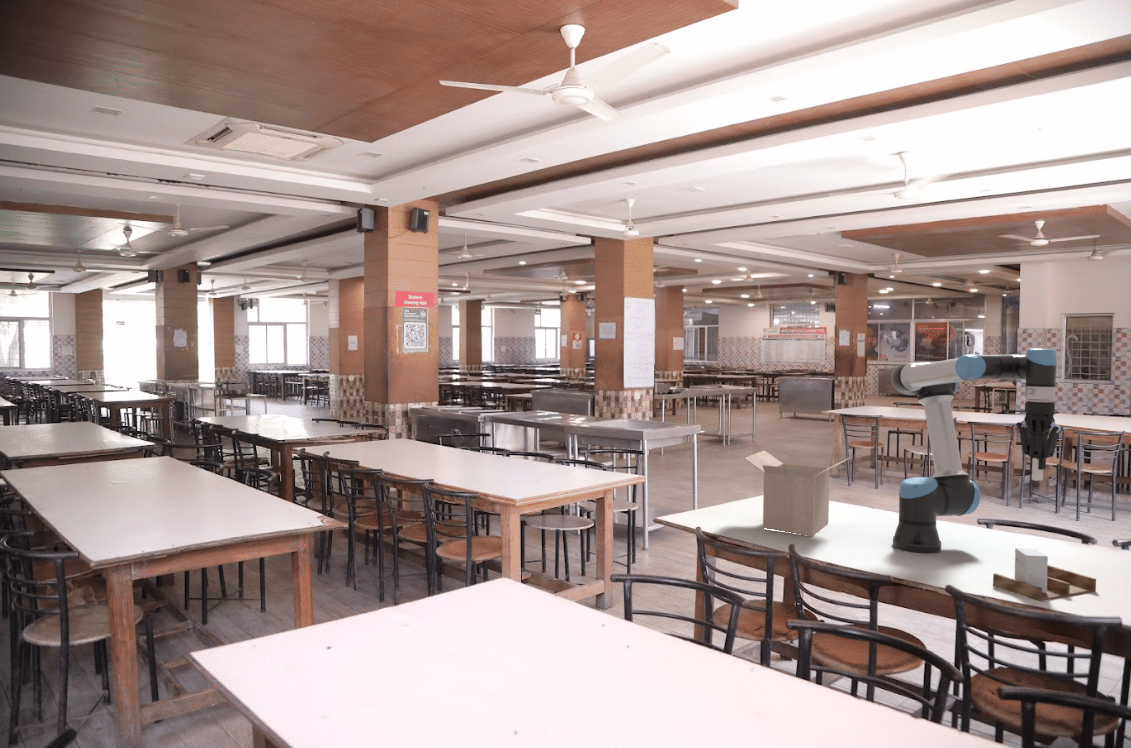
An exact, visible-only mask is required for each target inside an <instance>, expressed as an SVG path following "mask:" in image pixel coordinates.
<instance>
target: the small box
mask: <svg viewBox="0 0 1131 748" xmlns="http://www.w3.org/2000/svg"><path fill="white" fill-rule="evenodd" d="M1048 558H1049V556H1047V555H1046V554H1045V553H1042V552H1041V551H1039V550H1038V549H1036V548H1022V547H1021V548H1019V547H1017V548H1016V547H1015V550H1014V579H1015V580H1019V581H1022V582H1025V583H1028V584H1031V585H1034V586H1037V587H1041V588H1042V593H1047V567H1048V565H1049V564H1048Z"/></svg>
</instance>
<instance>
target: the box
mask: <svg viewBox="0 0 1131 748" xmlns="http://www.w3.org/2000/svg"><path fill="white" fill-rule="evenodd" d="M850 458H851V457H848V458H845V459H844V460H842V461H840V462H837V463H836V464H834V465H832V466H830V463H831V460H832V459H831V458H826V457H816V456H805V455H804V456H803V455H793V454H786V456H785V459H784V462H782V461H780V460H779V459H777V458H776V457H774V456H773V455H772V454H770V453H769V452H768V451H766V450H762V451H759V452H757V453H754V454H752V455H749V456H746V457H744V458H743V459H744V460H745V461H747V462H749V463H750V464H751V465H753V466H754V467H756V468H757V469H758V470H760V471H761V472H762V473H763V497H762V498H763V502H762V503H763V506H762V507H763V509H762V510H763V511H762V515H763V516H762V529H763V528H767V529H774V530H779V531H785V532H791V533H796V534H801V535H807V536H806V537H809V536H812V537H811V538H813V537H814V536H815V534H816V533H817V534H818V533H820V532H821V529H822V530H823V529H824V528H825V527H827V525H829V512H830V511H829V509H830V508H829V505H830V503H829V502H830V470H831V469H833V468H835V467H837V466H839V465H841V464H842V463H845V461H847V460H849V459H850ZM817 534H816V535H817ZM801 535H800V536H801Z"/></svg>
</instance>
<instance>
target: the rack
mask: <svg viewBox="0 0 1131 748" xmlns="http://www.w3.org/2000/svg"><path fill="white" fill-rule="evenodd" d="M992 575H993V576H992V577H993V578H992V581H993V583H992V586H993V587H995V588H998V589H1001V590H1004V591H1007V592H1010V593H1012V592H1013V594H1016V595H1018V594H1019V596H1021V595H1022V597H1024V596H1025V598H1027V597H1028V598H1027V599H1030V598H1031V600H1033V599H1034V601H1036V600H1037V601H1036V602H1039V601H1040V602H1045V601H1050V600H1056V599H1060V598H1061V599H1062V598H1066V597H1072V596H1077V595H1083V594H1088V593H1093V592H1094V593H1095V592H1096V591H1097V578H1096V577H1092V576H1088V575H1084V574H1081V573H1079V572H1078V573H1077V572H1074V571H1072V570H1067V569H1064V568H1059V567H1056V566H1053V565H1050V564H1048V567H1047V593H1042V588H1041V587H1037V586H1034V585H1031V584H1028V583H1025V582H1022V581H1019V580H1015V578H1012V577H1009V576H1006V575H1002V574H999V573H996V572H995V573H993V574H992Z"/></svg>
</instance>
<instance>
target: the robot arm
mask: <svg viewBox="0 0 1131 748" xmlns="http://www.w3.org/2000/svg"><path fill="white" fill-rule="evenodd" d="M1057 365H1058V361H1057V352H1056V350H1055V349H1054V348H1028V349H1027V350H1026V354H1013V353H1012V354H1011V353H1008V354H1007V353H1005V354H975V353H973V354H972V353H970V354H964V355H960V356H959V357H956V358H950V359H945V360H939V361H933V362H905V363H901V364H899V365H897V367H895V368H894V369H893V371H892V372H891V377H890V380H891V384H892V386H893V388H894V390H896V391H898V393H901V394H903V395H907V396H916V397H917V401H918V403H919V404H921V405H922V406H923V408H924V414H925V415H924V416H925V420H926V421H925V422H926V427H927V431H928V440H929V443H930V445H929V446H930V449H931V455H932V461H933V467H934V474H933V475H932V476H931V477H928V476H927V477H926V476H923V477H919V476H918V477H909V478H905V479H904V480H902V481H901V482H900V483H899V484H900V485H899V489H898V490H899V491H898V496H899V497H898V498H899V499H898V500H899V501H898V525H897V526H896V529H895V533H894V536H893V537H892V546H893V547H894V548H896V549H899V550H902V551H906V552H907V551H908V552H913V553H923V554H924V553H925V554H931V553H933V554H934V553H938V552H941V551H942V541H941V540H940V535H939V532H938V528H937V517H950V516H952V517H953V516H955V517H956V516H957V517H958V516H960V517H961V516H966V515H971V514H972V513H974V512H975V511H976V510H977V509H978V507H979V505H980V502H981V491H980V488H979V486H978V485H977V484H976V483H975V482H974V481H972V480H971V479H970V477H969V473H968V472H966V471H965V470H963V465H962V459H961V454H960V448H959V443H958V438H957V437H958V436H957V432H956V427H955V426H956V425H955V420H954V417H953V416H954V415H953V411H952V406H951V405H952V404H951V402H952V401H953V400H954V398H955V396H954V394H955V393H956V392H957V391H958V389H959V387H958V386H959V385H960V382H966V381H968V382H969V381H979V380H1025V396H1024V398H1025V399H1026V401H1025V402H1024V413H1025V416H1024V419H1023V420H1022V421H1018V422H1016V426H1017V429H1018V430H1019V435H1020V440H1021V447H1022V451H1023V454H1024V455H1027V456H1029V459H1030V460H1029V467H1030V468H1031V469H1032V470H1031V481H1035V482H1038V481H1043V480H1044V470H1046V464H1047V462H1046V461H1047V459H1048V458H1053V457H1054V455H1055V450H1056V446H1057V444H1058V443H1057V442H1058V440H1059V436H1060V433H1062V431H1063V430H1064V429H1063V428H1064V427H1063V426H1062V425H1058V424H1057V423H1056V422H1055V418H1054V415H1055V413H1056V411H1055V410H1056V403H1055V402H1054V401H1055V400H1056V383H1057V382H1056V381H1057V379H1056V377H1057Z"/></svg>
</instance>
